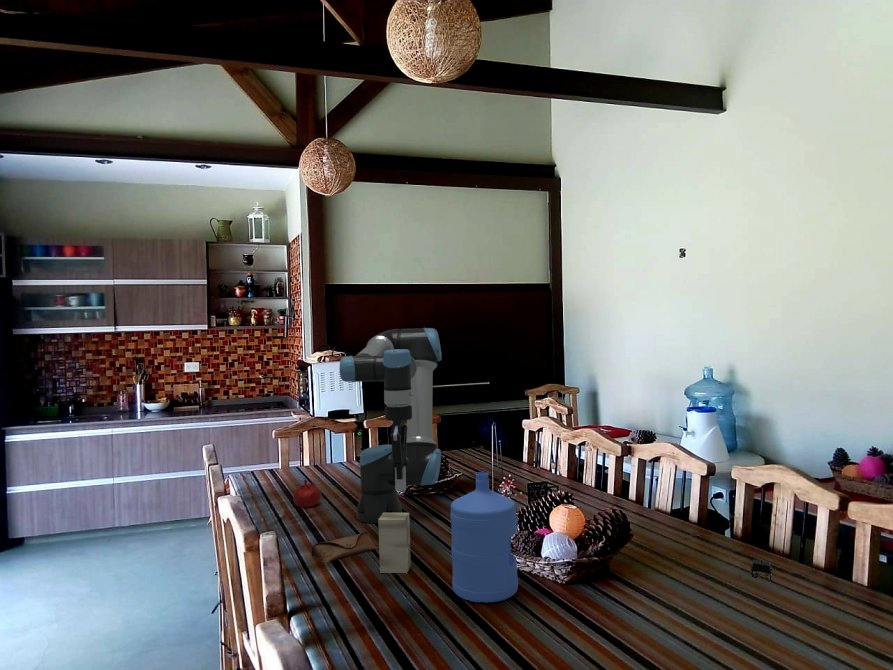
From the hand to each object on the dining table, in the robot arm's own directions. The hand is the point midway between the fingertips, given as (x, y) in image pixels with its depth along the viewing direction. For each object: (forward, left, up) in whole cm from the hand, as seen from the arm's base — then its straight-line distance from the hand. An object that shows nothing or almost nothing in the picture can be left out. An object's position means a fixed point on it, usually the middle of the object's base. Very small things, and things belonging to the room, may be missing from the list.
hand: (400, 490), depth 178 cm
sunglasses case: (-1, -16, -19) cm, 25 cm away
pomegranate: (-47, -43, -18) cm, 66 cm away
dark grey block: (+14, +90, -19) cm, 93 cm away
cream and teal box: (+11, 0, -18) cm, 21 cm away
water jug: (+23, +24, -18) cm, 38 cm away
